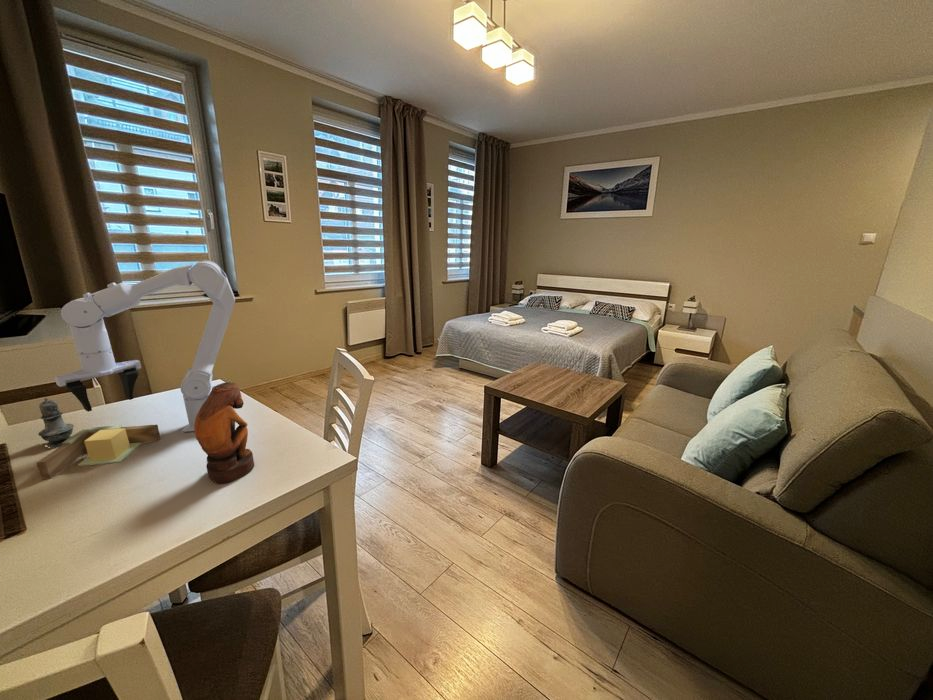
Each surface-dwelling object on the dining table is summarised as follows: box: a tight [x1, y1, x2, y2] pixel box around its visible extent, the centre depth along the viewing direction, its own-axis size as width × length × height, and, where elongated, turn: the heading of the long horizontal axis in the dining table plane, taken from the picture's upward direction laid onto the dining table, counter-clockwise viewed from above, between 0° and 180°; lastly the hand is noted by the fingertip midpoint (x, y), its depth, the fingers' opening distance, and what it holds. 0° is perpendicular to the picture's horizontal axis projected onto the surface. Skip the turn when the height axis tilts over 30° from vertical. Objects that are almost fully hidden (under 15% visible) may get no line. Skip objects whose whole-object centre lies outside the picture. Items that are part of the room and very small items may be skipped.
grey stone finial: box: [37, 397, 75, 449], centre depth 88 cm, size 6×6×12 cm
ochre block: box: [84, 428, 130, 461], centre depth 85 cm, size 5×5×5 cm
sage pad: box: [77, 443, 143, 467], centre depth 86 cm, size 8×8×1 cm
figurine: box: [193, 381, 255, 484], centre depth 79 cm, size 9×10×20 cm
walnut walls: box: [35, 424, 162, 480], centre depth 84 cm, size 15×14×4 cm
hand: (109, 404), depth 89 cm, fingers open, 7 cm apart
